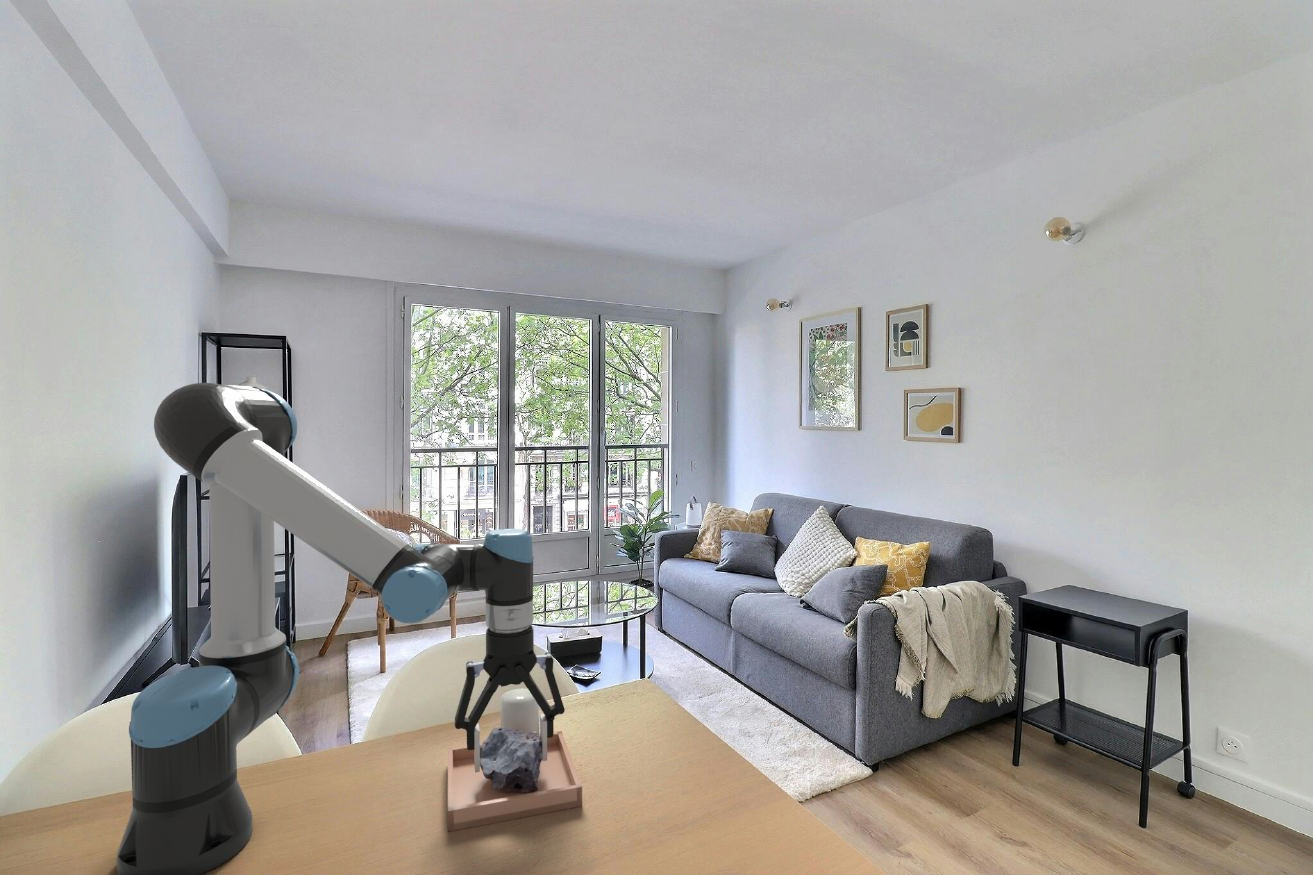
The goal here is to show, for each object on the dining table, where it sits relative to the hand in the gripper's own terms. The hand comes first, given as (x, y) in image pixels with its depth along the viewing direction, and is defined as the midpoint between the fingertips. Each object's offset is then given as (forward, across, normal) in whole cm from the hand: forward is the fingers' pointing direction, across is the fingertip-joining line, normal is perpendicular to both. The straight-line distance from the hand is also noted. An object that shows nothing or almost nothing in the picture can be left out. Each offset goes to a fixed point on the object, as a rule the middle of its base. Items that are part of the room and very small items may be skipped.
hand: (510, 762), depth 104 cm
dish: (+4, 0, 0) cm, 4 cm away
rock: (+3, 0, 0) cm, 3 cm away
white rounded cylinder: (+4, +3, +15) cm, 16 cm away
